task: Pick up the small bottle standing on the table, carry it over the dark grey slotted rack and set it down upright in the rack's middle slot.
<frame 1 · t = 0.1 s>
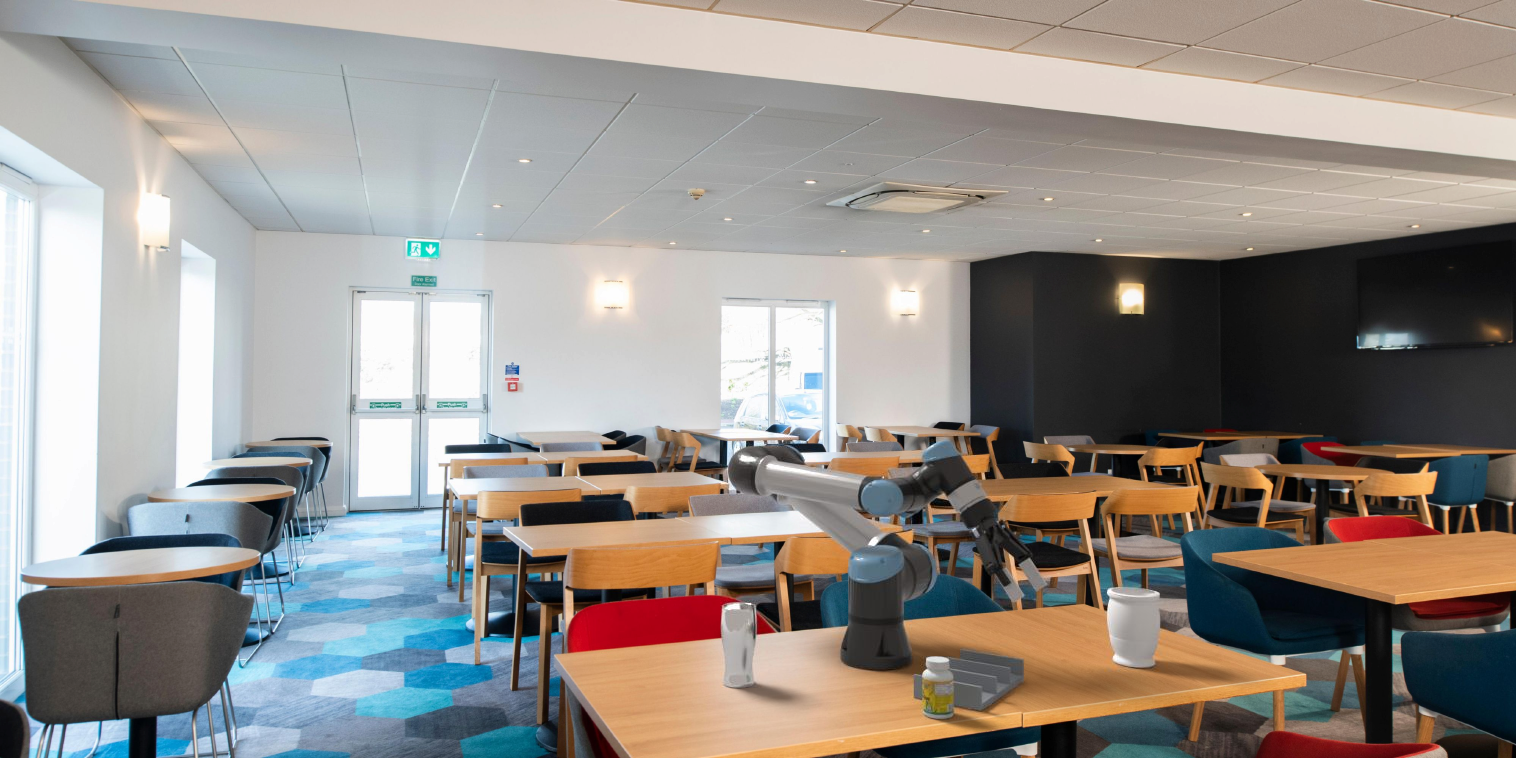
hand: (1030, 593, 188), 15 cm above the table, tool tilted 35°, fingers open, 13 cm apart
beer glass: (738, 684, 178), on the table
rack: (970, 688, 174), on the table
supplement bottle: (938, 715, 160), on the table
jar: (1133, 663, 192), on the table
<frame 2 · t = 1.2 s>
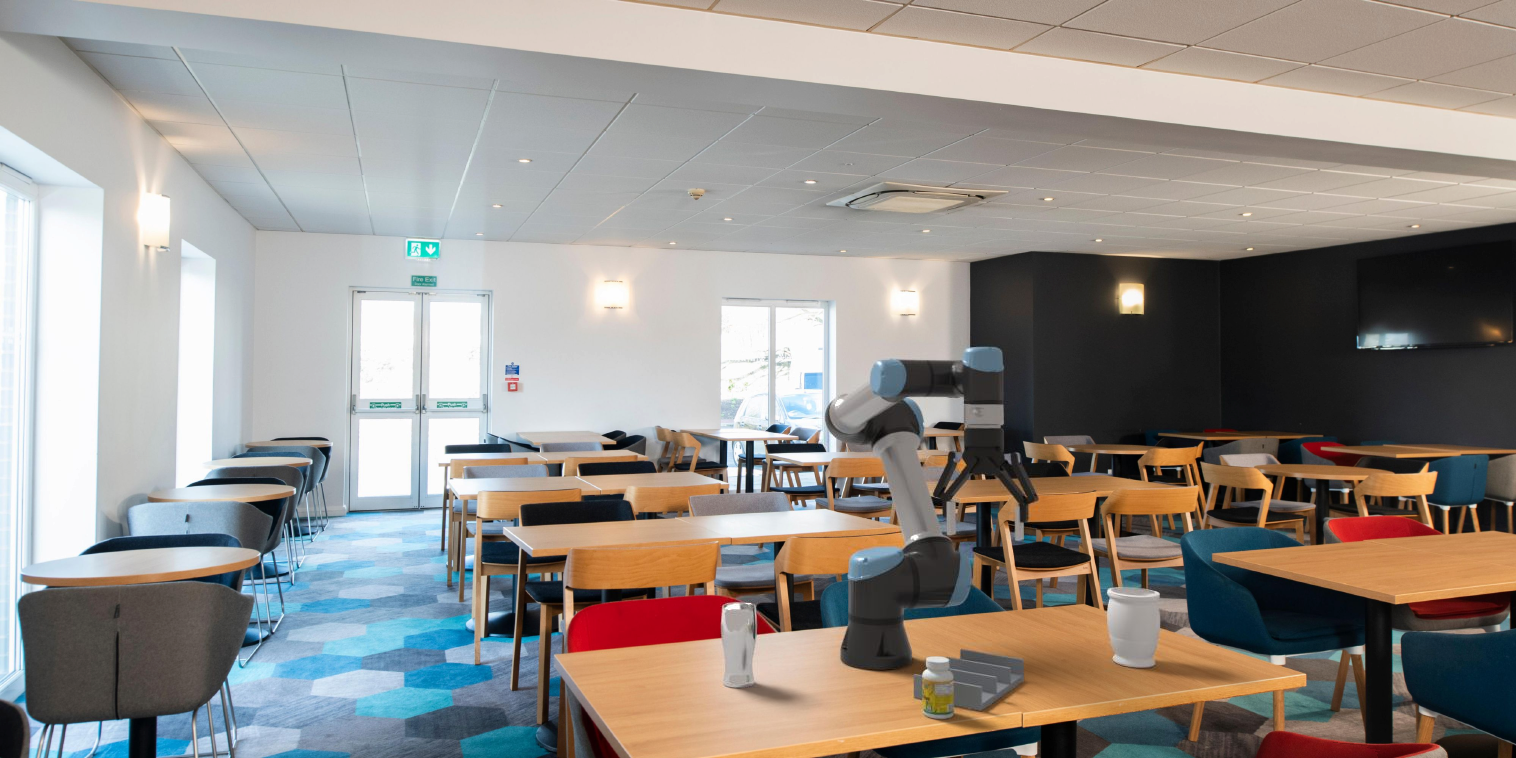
hand: (984, 537, 176), 29 cm above the table, tool pointing down, fingers open, 13 cm apart
nothing on the table moved.
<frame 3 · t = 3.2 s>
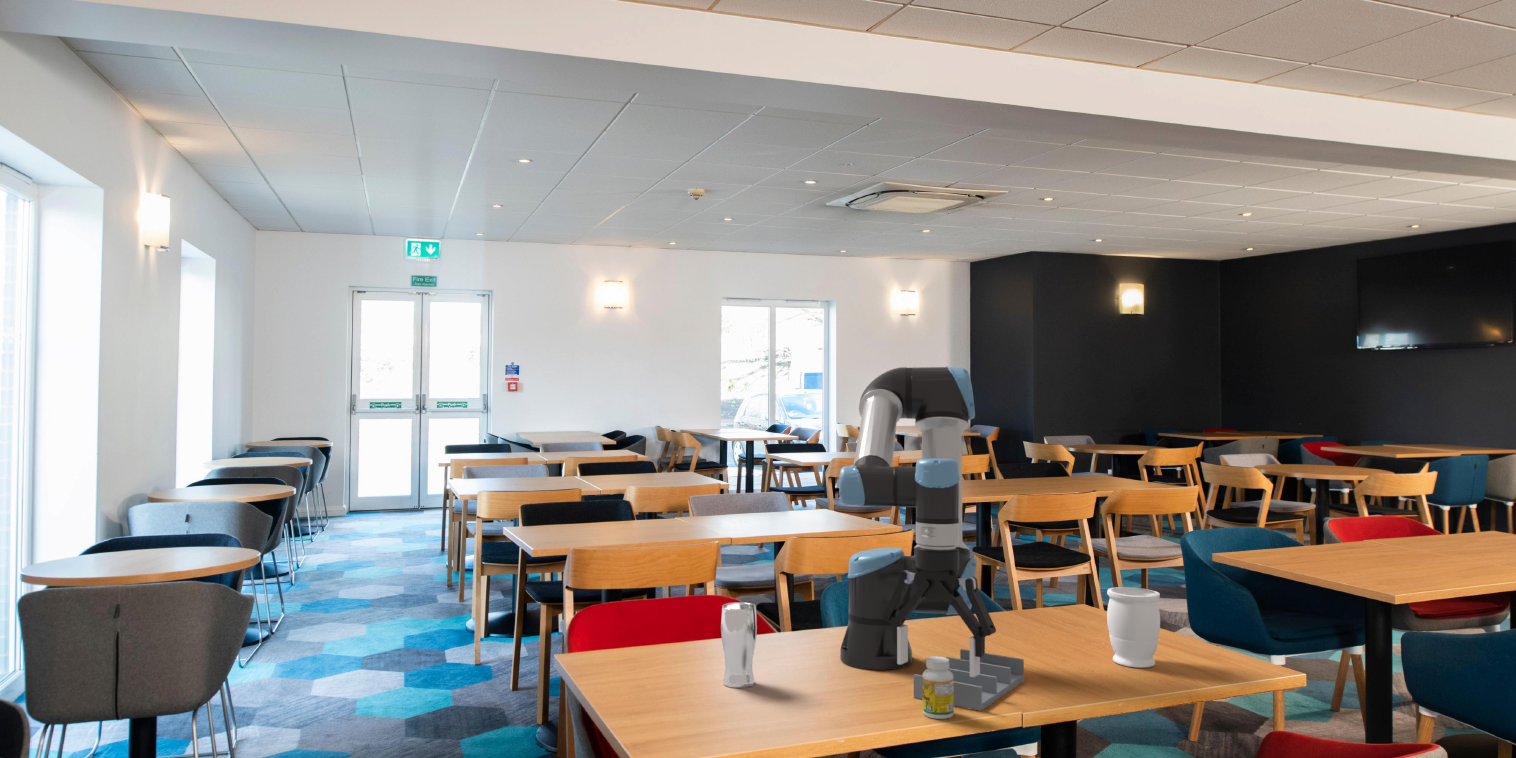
hand: (937, 669, 160), 8 cm above the table, tool pointing down, fingers open, 13 cm apart
nothing on the table moved.
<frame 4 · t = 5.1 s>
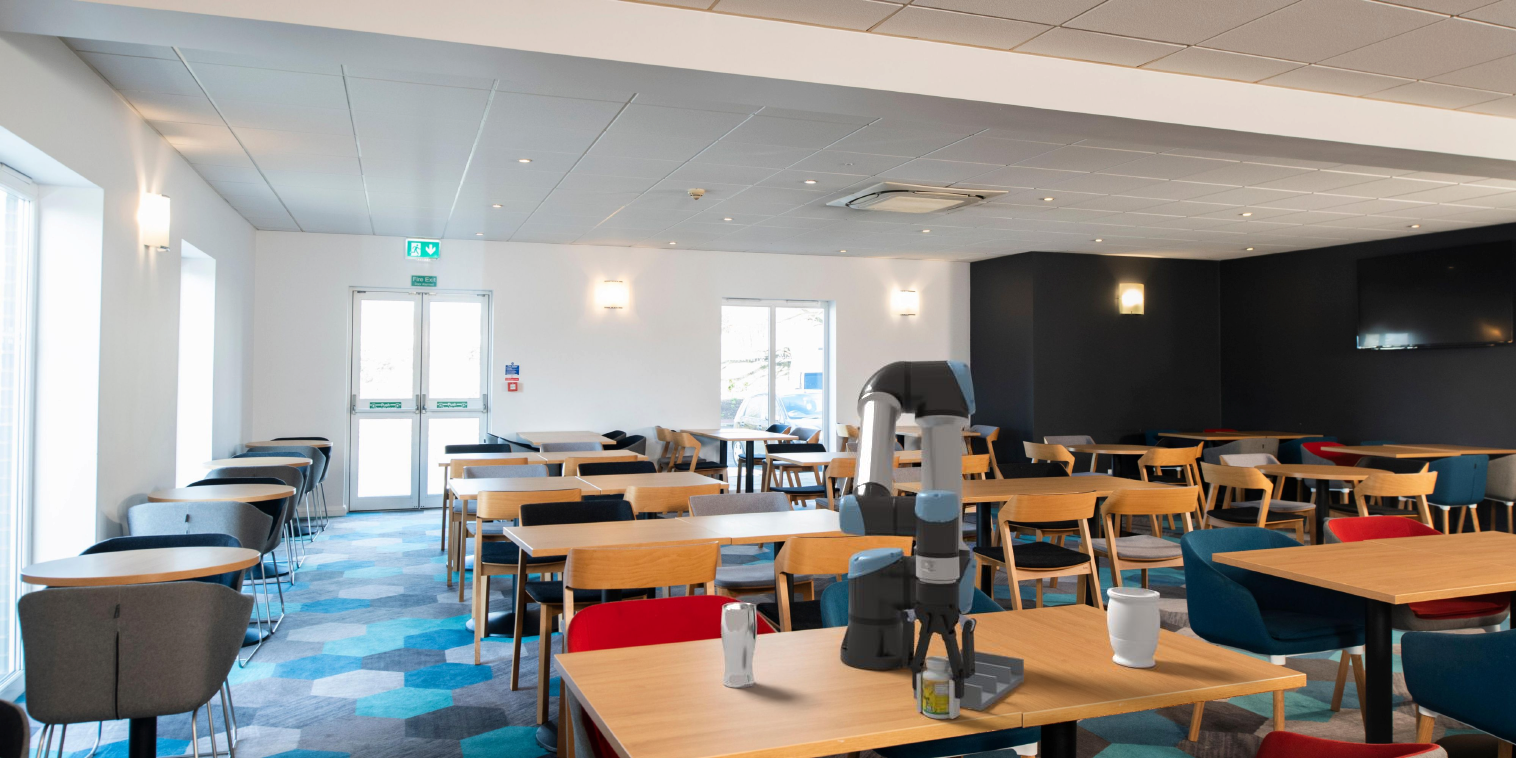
hand: (938, 712, 160), 0 cm above the table, tool pointing down, fingers closed on supplement bottle, 5 cm apart
supplement bottle: (938, 715, 160), on the table, touching gripper
everything else where it was.
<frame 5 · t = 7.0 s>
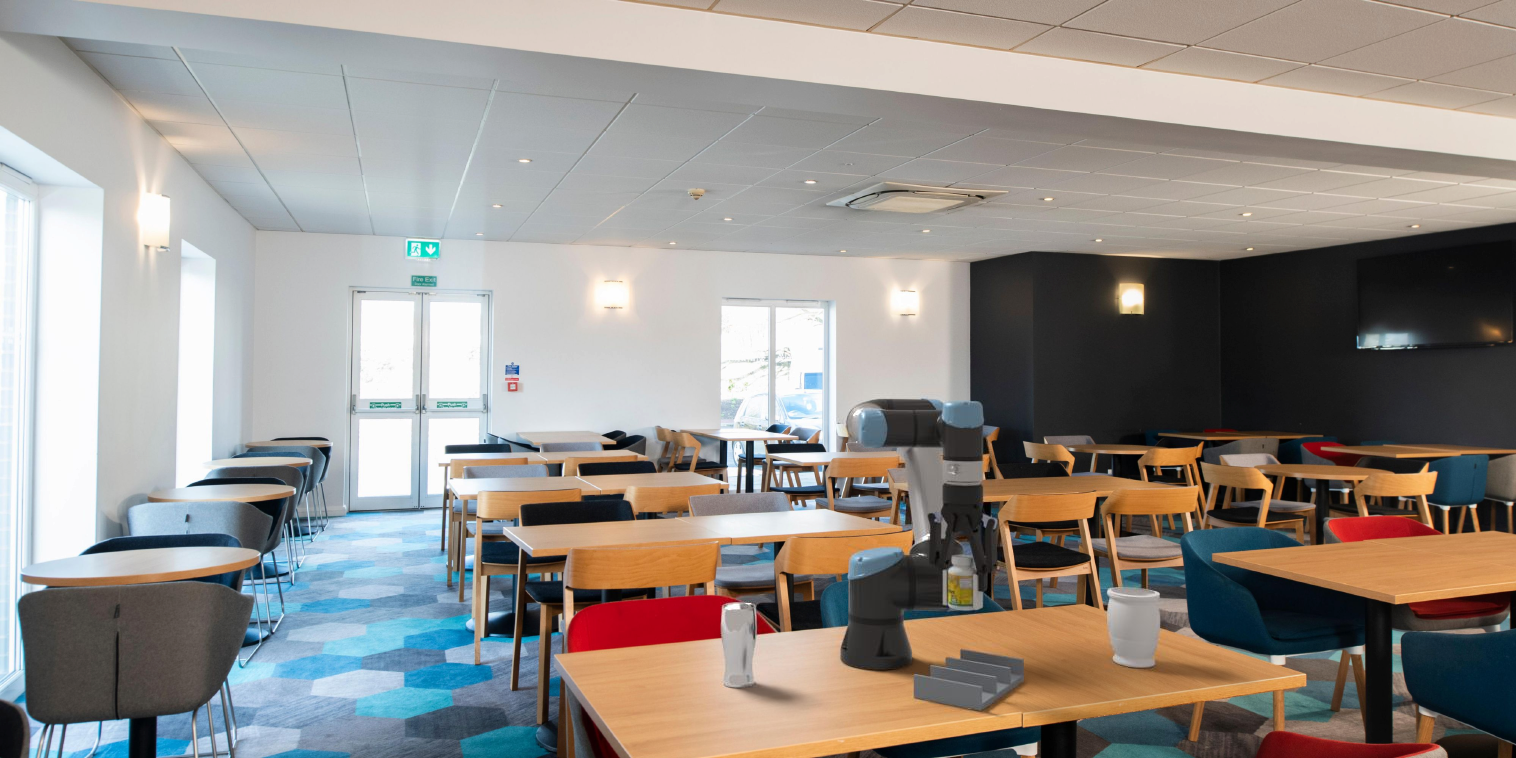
hand: (962, 605, 172), 16 cm above the table, tool pointing down, fingers closed on supplement bottle, 5 cm apart
supplement bottle: (962, 608, 172), point 16 cm above the table, touching gripper
everything else where it was.
when the fingers open (4 cm above the table, at t = 9.2 s): supplement bottle drops 2 cm, resting on rack.
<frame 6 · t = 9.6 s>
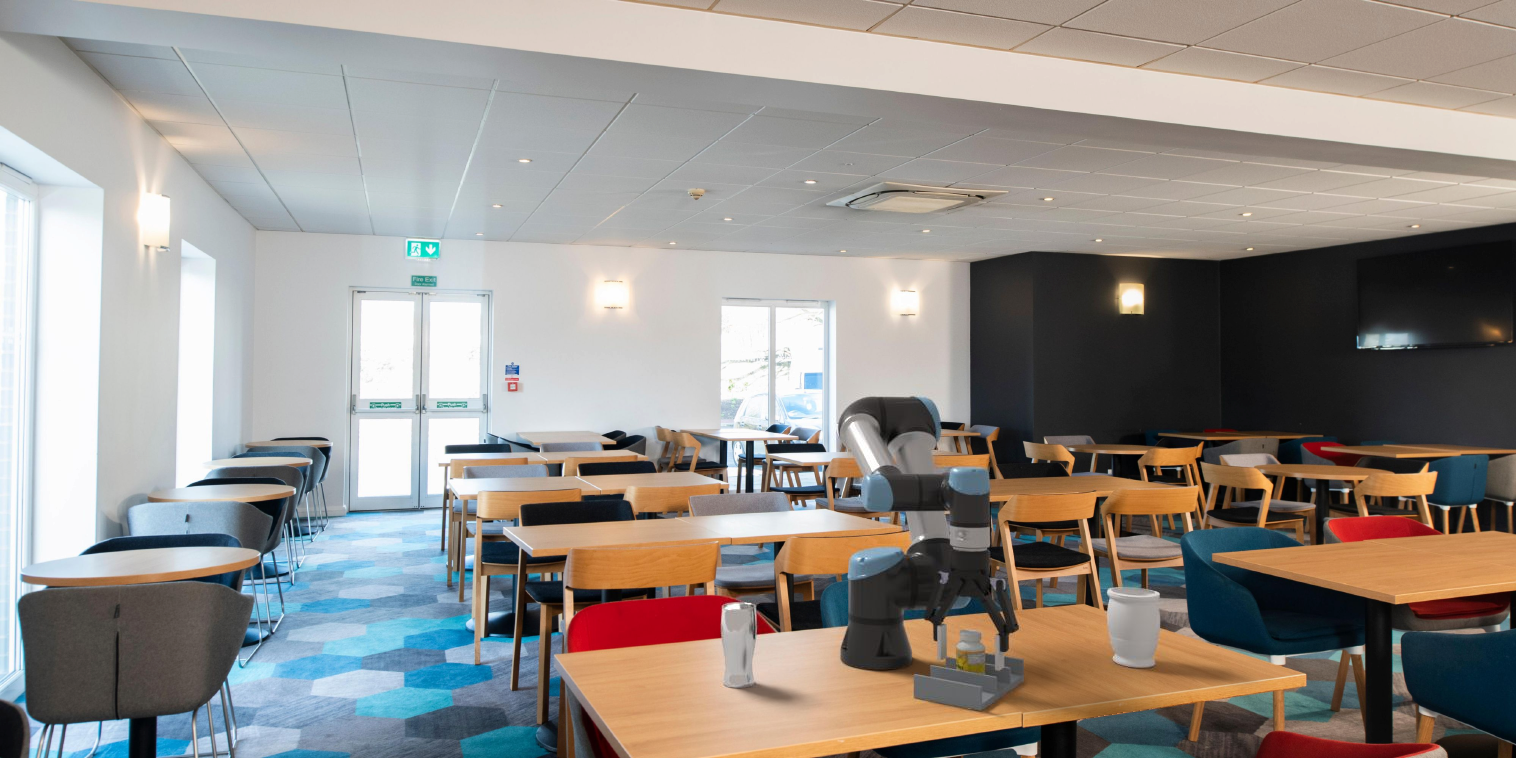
hand: (970, 663, 174), 5 cm above the table, tool pointing down, fingers open, 11 cm apart
supplement bottle: (970, 683, 174), point 1 cm above the table, touching rack
everything else where it was.
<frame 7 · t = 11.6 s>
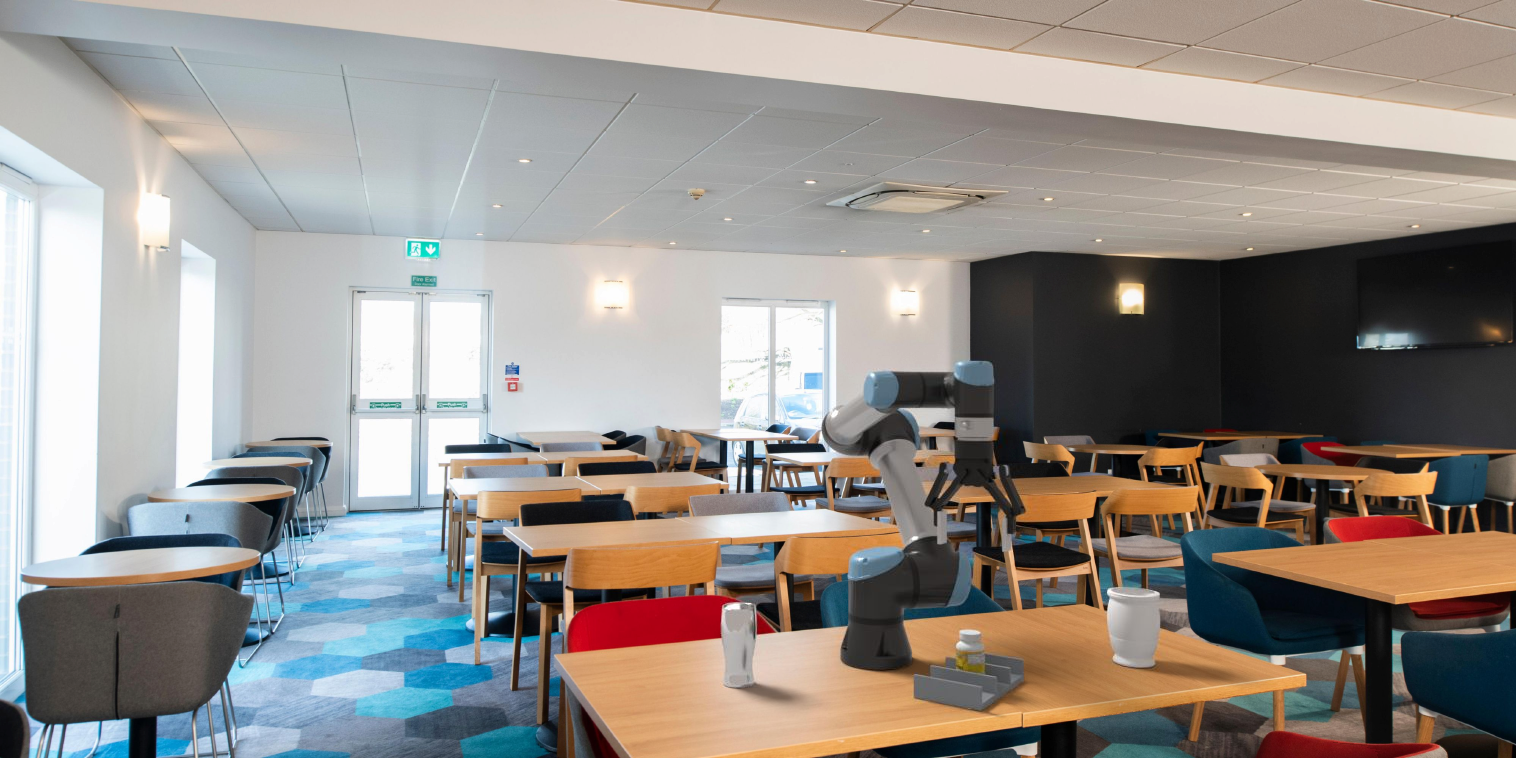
hand: (973, 547, 180), 26 cm above the table, tool pointing down, fingers open, 13 cm apart
nothing on the table moved.
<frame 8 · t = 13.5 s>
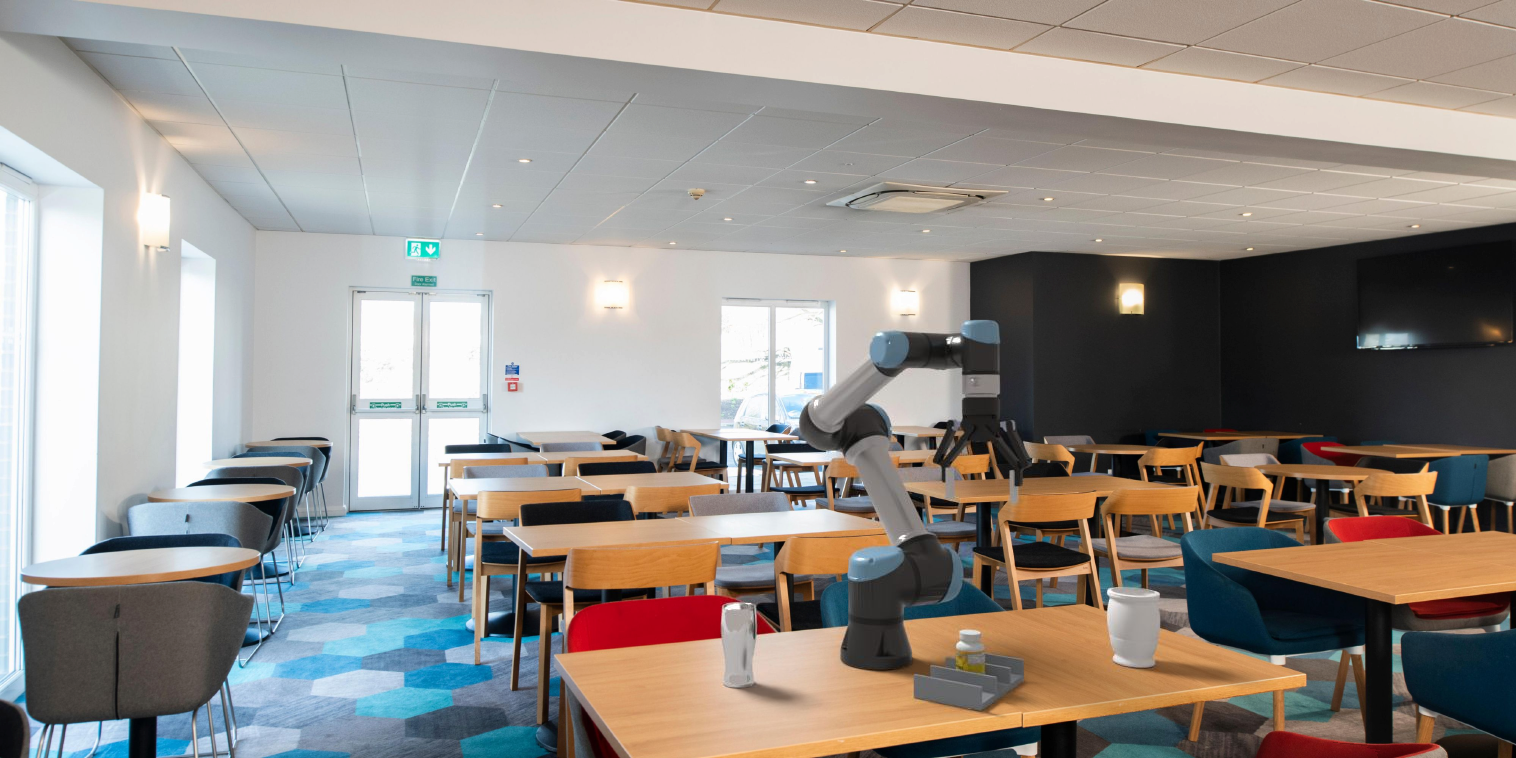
hand: (981, 501, 185), 35 cm above the table, tool pointing down, fingers open, 13 cm apart
nothing on the table moved.
at the end: supplement bottle inside the target area on the rack (0.0 cm from its centre), point 1.0 cm above the rack's base; supplement bottle tilted 0°; the gripper is holding nothing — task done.
